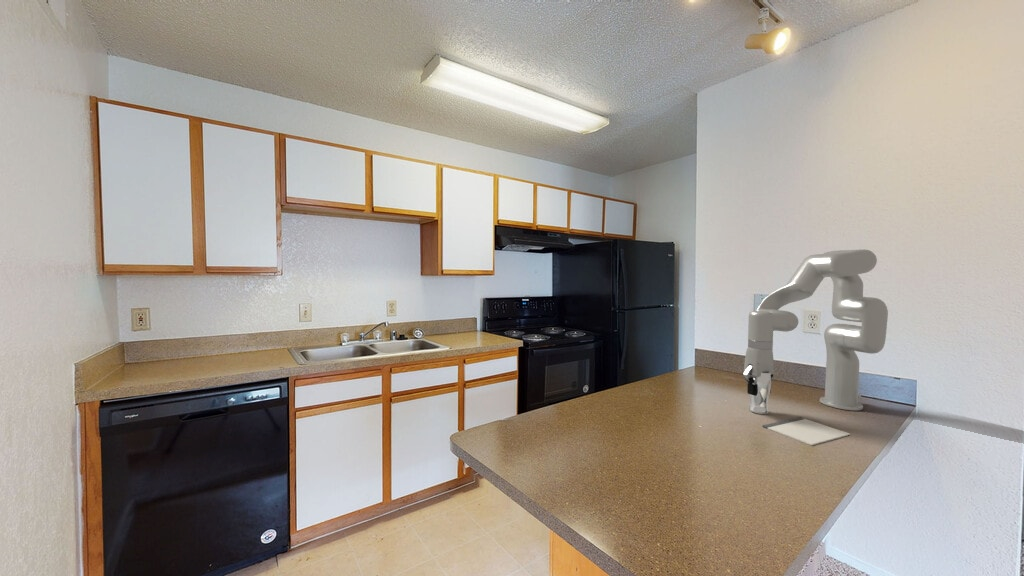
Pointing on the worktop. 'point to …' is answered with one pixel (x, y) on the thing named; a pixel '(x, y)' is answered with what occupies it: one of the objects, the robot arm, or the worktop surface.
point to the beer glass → (761, 394)
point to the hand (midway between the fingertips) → (759, 392)
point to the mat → (806, 431)
